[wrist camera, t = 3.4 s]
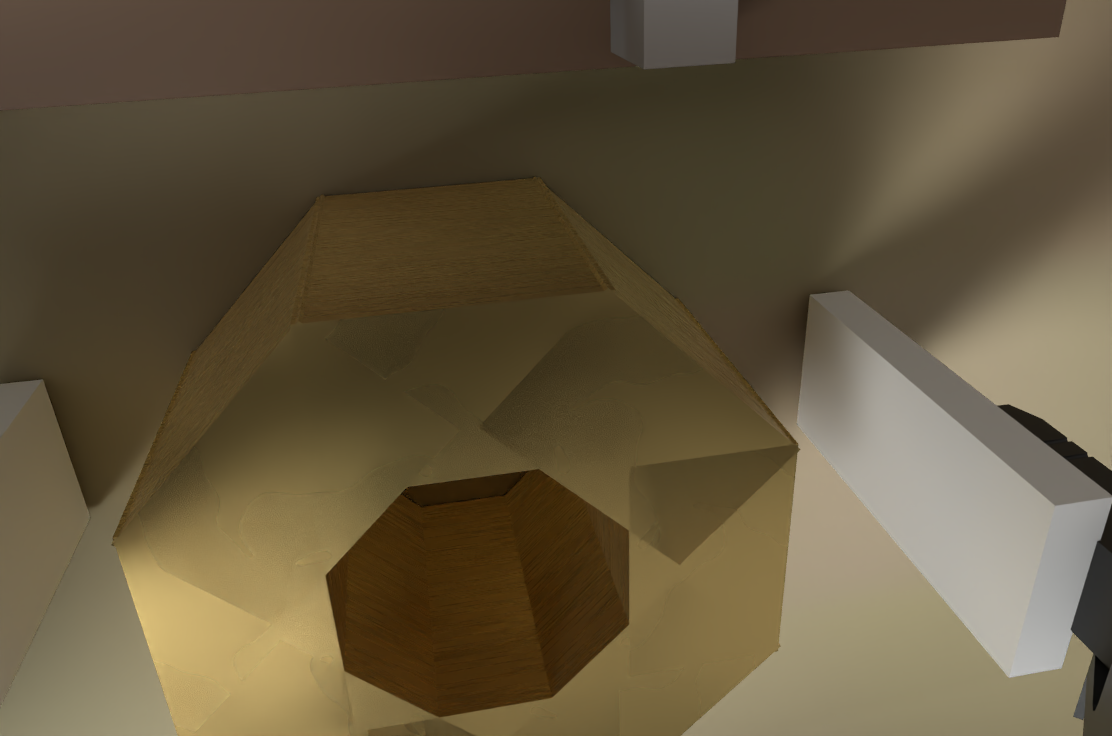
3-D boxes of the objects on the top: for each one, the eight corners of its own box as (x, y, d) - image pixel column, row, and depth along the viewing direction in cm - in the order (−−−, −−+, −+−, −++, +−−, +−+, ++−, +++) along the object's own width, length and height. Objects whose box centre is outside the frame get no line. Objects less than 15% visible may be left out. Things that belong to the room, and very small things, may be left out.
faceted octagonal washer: (672, 562, 18) (768, 764, 14) (259, 626, 17) (219, 870, 13) (683, 162, 14) (819, 265, 10) (154, 209, 13) (46, 348, 9)
